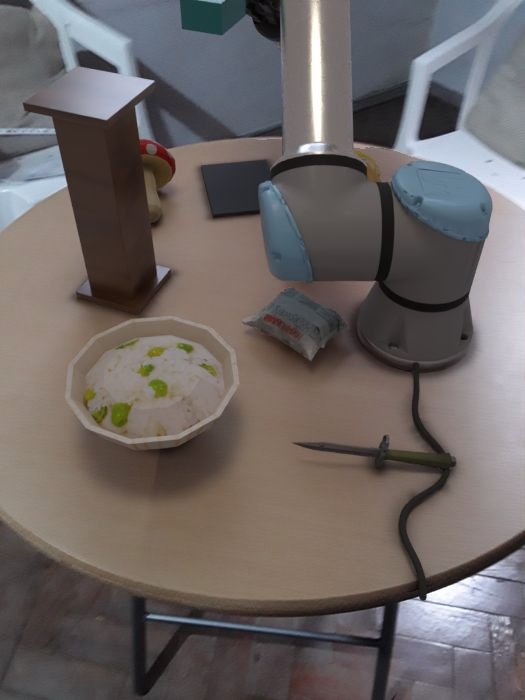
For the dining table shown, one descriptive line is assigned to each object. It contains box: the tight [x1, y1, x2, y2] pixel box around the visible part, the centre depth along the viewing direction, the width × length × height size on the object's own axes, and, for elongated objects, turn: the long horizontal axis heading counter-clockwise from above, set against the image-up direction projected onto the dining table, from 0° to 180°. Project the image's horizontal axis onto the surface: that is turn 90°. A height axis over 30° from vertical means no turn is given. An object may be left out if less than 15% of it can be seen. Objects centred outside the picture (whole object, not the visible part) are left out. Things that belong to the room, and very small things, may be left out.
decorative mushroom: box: [139, 138, 177, 224], centre depth 111 cm, size 11×11×15 cm
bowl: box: [64, 315, 240, 451], centre depth 77 cm, size 19×19×10 cm
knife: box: [291, 433, 457, 471], centre depth 75 cm, size 19×2×5 cm, turn 87°
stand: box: [22, 65, 172, 316], centre depth 89 cm, size 11×11×29 cm
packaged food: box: [241, 286, 351, 362], centre depth 90 cm, size 9×12×5 cm
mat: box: [200, 158, 271, 218], centre depth 118 cm, size 16×12×1 cm
